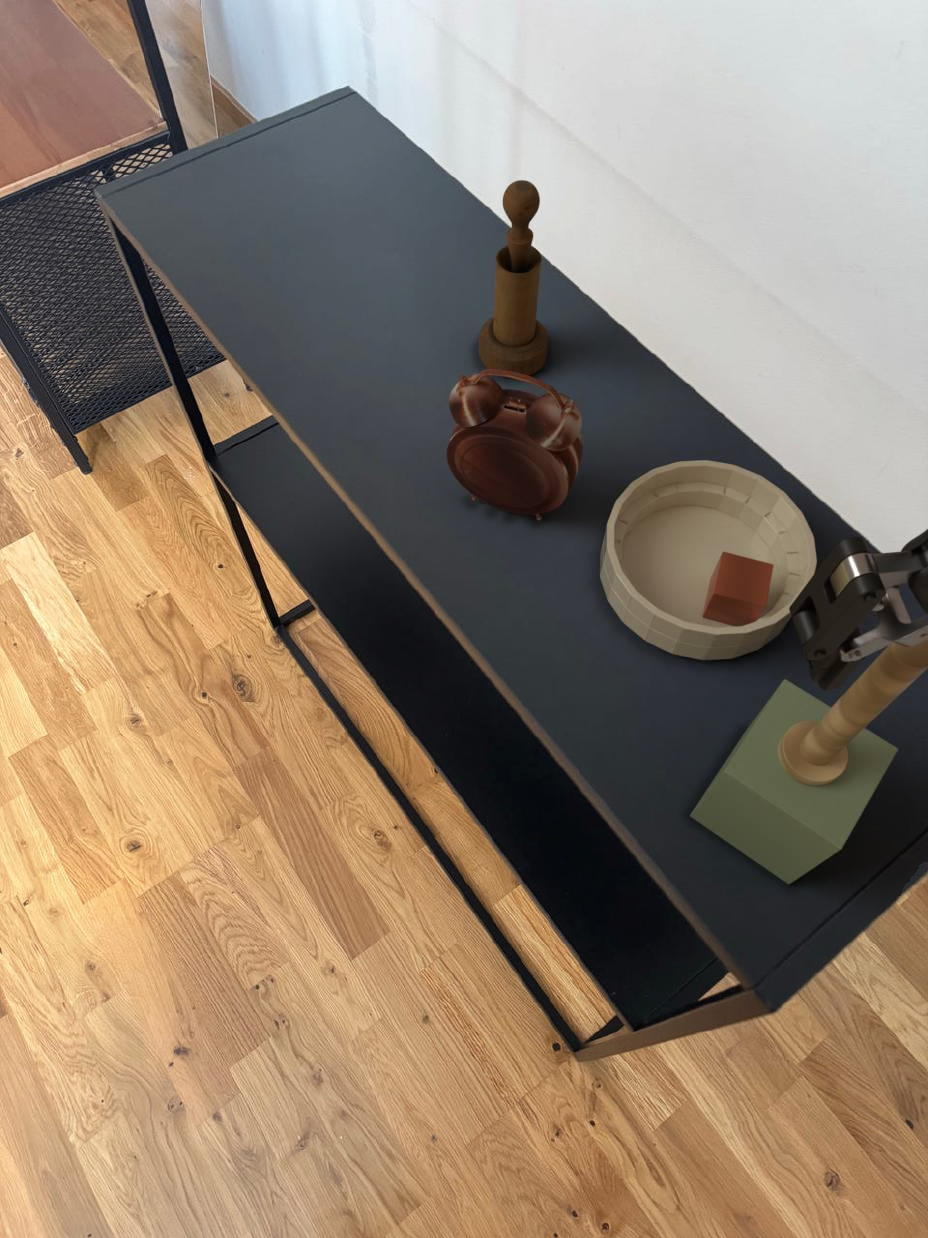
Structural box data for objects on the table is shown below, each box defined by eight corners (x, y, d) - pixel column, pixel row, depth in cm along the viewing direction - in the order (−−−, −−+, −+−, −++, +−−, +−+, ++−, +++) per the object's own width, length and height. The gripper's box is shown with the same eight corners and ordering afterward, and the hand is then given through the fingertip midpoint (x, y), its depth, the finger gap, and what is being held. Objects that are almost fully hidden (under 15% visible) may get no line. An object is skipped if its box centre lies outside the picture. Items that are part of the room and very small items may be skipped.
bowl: (830, 559, 74) (852, 525, 70) (733, 701, 68) (751, 674, 64) (664, 466, 79) (676, 429, 75) (560, 591, 73) (566, 559, 69)
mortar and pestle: (559, 346, 86) (578, 177, 70) (525, 389, 84) (537, 223, 68) (500, 320, 88) (507, 149, 72) (466, 361, 85) (464, 193, 69)
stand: (840, 796, 64) (898, 748, 56) (788, 885, 62) (841, 849, 53) (743, 733, 67) (784, 678, 58) (689, 816, 64) (723, 771, 55)
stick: (853, 749, 56) (971, 641, 43) (825, 799, 54) (939, 703, 41) (795, 714, 57) (892, 598, 44) (766, 762, 55) (858, 657, 42)
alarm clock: (578, 494, 78) (599, 371, 64) (561, 537, 75) (580, 418, 62) (462, 460, 80) (460, 333, 66) (442, 501, 77) (436, 378, 64)
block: (759, 589, 72) (774, 563, 69) (751, 631, 70) (766, 606, 67) (710, 577, 73) (722, 550, 69) (701, 617, 71) (713, 592, 67)
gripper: (952, 567, 27) (787, 752, 41) (1393, 515, 28) (1081, 715, 42) (867, 384, 30) (743, 612, 45) (1259, 341, 31) (1013, 580, 45)
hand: (906, 662), depth 43 cm, fingers open, 8 cm apart
